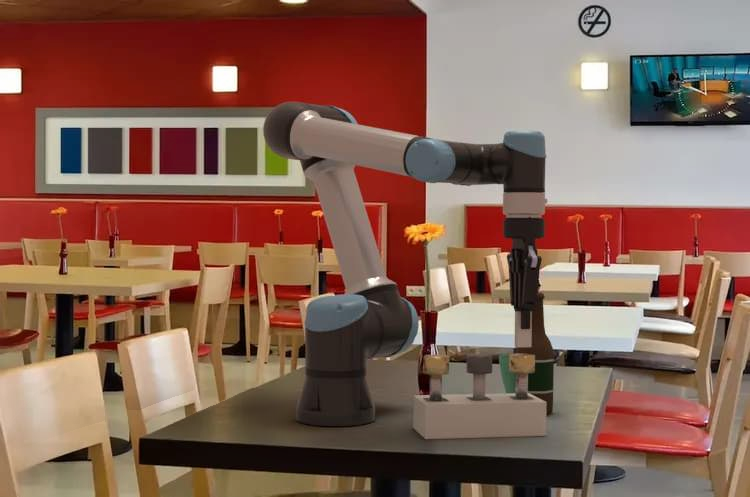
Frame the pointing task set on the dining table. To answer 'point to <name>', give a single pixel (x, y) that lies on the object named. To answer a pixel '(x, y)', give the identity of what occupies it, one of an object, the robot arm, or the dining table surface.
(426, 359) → the knob left
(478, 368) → the knob mid
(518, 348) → the beer bottle
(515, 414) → the panel
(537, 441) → the dining table surface
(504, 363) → the mug
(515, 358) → the knob right
